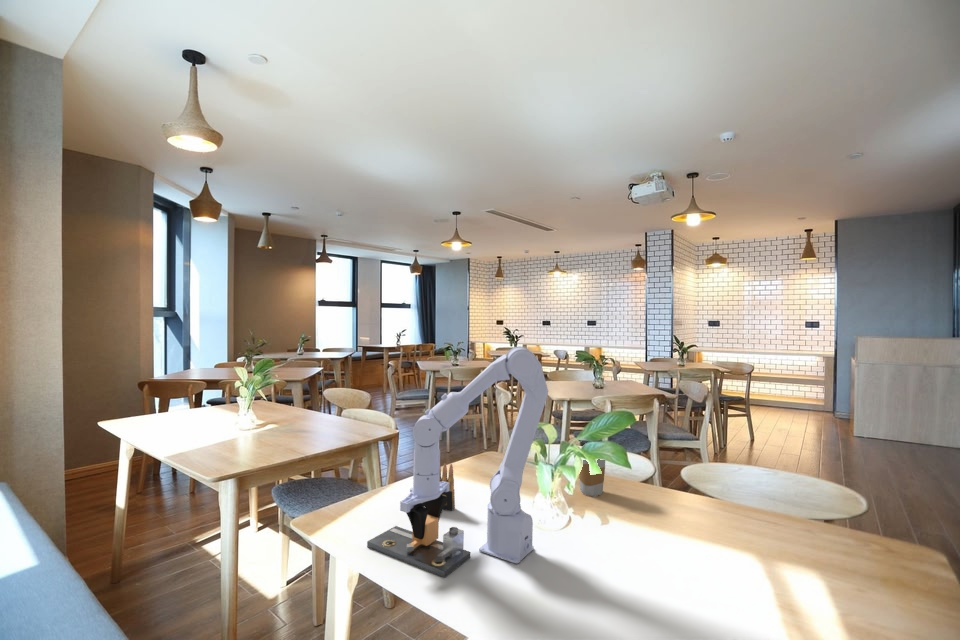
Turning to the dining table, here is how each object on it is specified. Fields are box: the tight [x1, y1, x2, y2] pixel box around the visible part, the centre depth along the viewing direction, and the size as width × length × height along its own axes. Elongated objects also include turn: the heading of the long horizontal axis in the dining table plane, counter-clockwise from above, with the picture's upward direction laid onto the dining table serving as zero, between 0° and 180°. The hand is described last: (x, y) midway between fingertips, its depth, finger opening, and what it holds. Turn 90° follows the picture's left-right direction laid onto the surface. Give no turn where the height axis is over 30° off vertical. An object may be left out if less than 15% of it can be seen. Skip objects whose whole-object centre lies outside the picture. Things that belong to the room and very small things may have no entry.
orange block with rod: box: [407, 515, 440, 551], centre depth 98 cm, size 4×8×4 cm, turn 147°
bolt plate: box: [366, 525, 471, 579], centre depth 98 cm, size 21×9×6 cm, turn 58°
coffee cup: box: [578, 441, 606, 497], centre depth 133 cm, size 8×8×15 cm
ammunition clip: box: [422, 462, 456, 512], centre depth 121 cm, size 11×2×12 cm, turn 73°
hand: (425, 533), depth 100 cm, fingers closed on orange block with rod, 4 cm apart
